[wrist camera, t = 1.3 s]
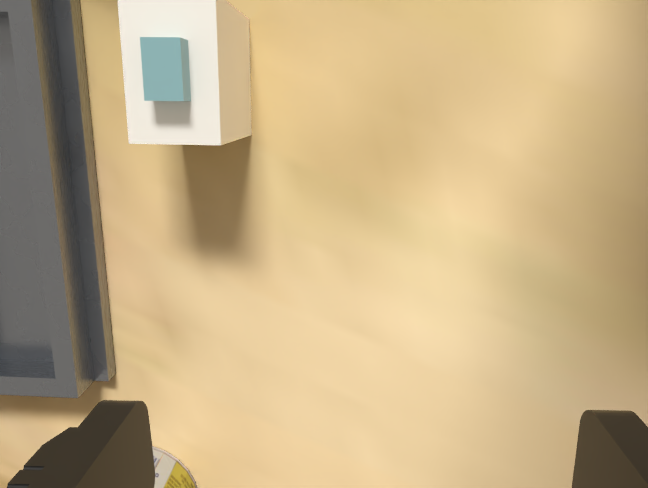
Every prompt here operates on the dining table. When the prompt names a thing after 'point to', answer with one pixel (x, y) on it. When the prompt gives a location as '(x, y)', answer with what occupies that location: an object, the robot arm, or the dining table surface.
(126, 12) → the block
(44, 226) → the grey rectangular tray
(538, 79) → the dining table surface
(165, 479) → the canned food
